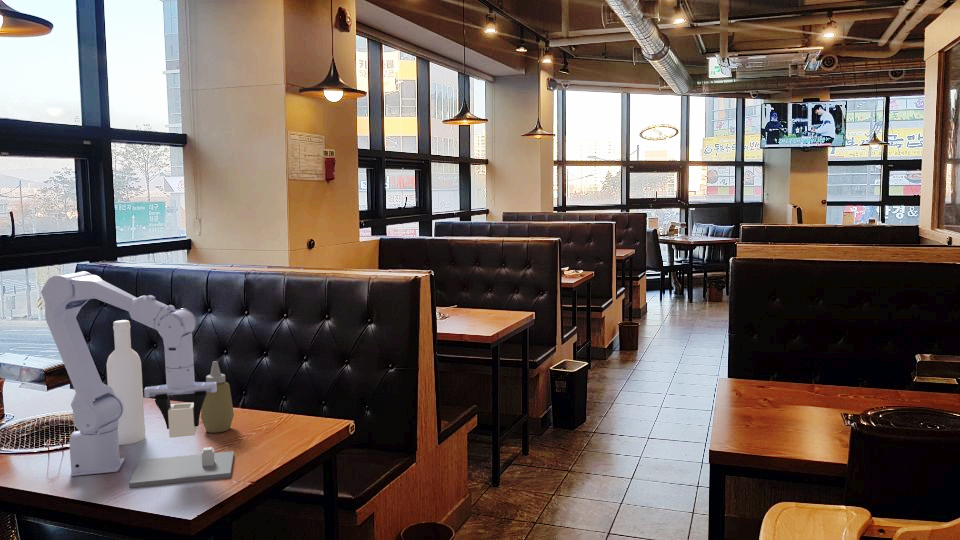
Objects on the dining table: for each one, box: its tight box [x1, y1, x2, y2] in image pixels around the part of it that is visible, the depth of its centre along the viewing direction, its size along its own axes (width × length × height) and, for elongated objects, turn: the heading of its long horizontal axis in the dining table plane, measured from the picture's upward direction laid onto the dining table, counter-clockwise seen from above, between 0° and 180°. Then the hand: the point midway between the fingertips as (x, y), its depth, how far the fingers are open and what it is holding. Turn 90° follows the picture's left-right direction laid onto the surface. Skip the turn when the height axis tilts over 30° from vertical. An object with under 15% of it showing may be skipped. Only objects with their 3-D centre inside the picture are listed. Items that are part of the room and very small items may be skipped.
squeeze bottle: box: [200, 360, 235, 434], centre depth 189 cm, size 8×8×18 cm
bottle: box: [106, 319, 146, 446], centre depth 181 cm, size 8×8×30 cm
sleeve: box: [168, 401, 198, 438], centre depth 161 cm, size 5×5×6 cm
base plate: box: [128, 446, 235, 489], centre depth 162 cm, size 20×14×4 cm
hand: (183, 426), depth 161 cm, fingers closed on sleeve, 5 cm apart
